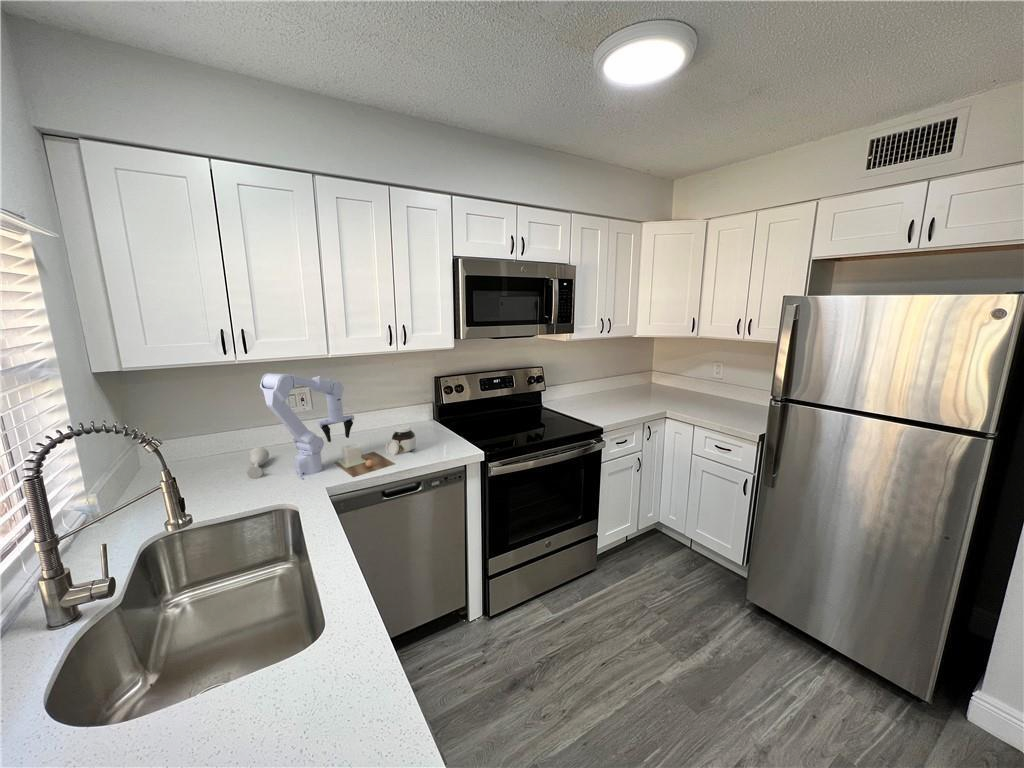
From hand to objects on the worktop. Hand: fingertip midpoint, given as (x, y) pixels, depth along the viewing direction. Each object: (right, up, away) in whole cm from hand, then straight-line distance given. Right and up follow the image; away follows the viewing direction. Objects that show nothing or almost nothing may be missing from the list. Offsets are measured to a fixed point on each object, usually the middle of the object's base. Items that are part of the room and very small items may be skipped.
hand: (338, 439), depth 178 cm
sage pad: (+7, -9, -3) cm, 12 cm away
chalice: (-26, -11, -16) cm, 32 cm away
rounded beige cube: (+7, -9, -3) cm, 12 cm away
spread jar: (+24, -8, +9) cm, 27 cm away
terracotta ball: (+16, -9, -8) cm, 20 cm away
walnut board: (+13, -10, -4) cm, 17 cm away
